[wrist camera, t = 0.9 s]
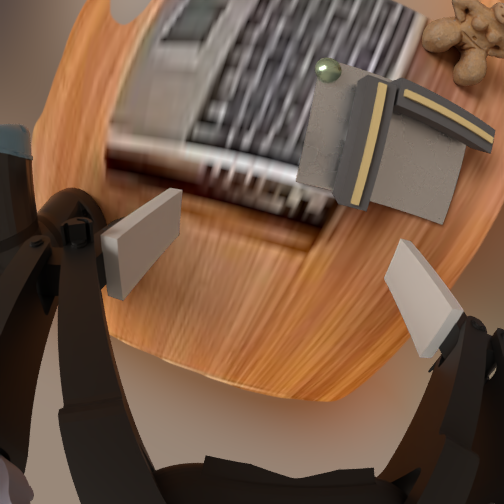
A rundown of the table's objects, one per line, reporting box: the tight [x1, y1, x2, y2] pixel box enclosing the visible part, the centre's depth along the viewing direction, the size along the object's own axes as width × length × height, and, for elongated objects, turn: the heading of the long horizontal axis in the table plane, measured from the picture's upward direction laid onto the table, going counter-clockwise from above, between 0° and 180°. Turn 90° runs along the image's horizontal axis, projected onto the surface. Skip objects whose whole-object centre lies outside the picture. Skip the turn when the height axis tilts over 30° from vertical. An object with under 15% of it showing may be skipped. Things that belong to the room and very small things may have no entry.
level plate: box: [296, 58, 466, 225], centre depth 28 cm, size 22×16×2 cm
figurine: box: [422, 0, 504, 86], centre depth 14 cm, size 11×9×15 cm
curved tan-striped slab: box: [390, 78, 495, 154], centre depth 22 cm, size 3×14×6 cm, turn 80°
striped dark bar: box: [332, 75, 397, 211], centre depth 25 cm, size 3×14×6 cm, turn 170°
